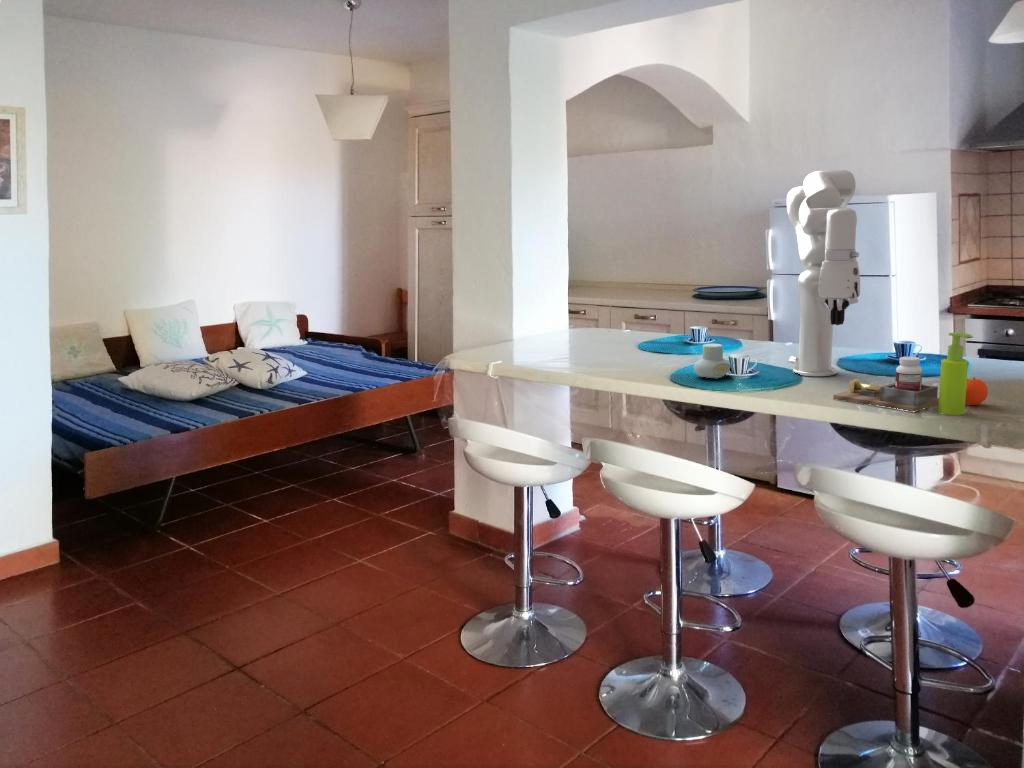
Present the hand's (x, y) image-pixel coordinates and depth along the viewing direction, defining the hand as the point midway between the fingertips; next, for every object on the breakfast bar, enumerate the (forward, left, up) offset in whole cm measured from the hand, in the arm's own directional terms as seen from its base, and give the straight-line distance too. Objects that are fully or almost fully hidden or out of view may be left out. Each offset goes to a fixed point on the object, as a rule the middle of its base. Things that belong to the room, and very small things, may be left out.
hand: (837, 324), depth 244 cm
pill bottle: (+21, 0, -18) cm, 28 cm away
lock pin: (+10, 0, -18) cm, 20 cm away
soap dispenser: (+33, -1, -19) cm, 38 cm away
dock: (+15, 0, -19) cm, 24 cm away
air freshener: (-38, -5, -19) cm, 43 cm away
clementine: (+32, +10, -19) cm, 39 cm away
